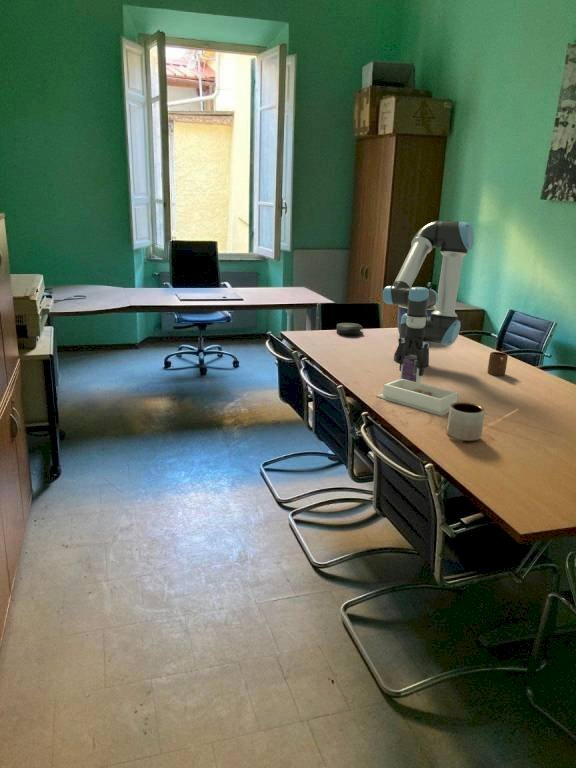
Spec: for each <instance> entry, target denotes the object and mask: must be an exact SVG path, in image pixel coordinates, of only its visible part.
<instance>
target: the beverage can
mask: <svg viewBox="0 0 576 768" xmlns="http://www.w3.org/2000/svg"><path fill="white" fill-rule="evenodd" d="M417 368H419V365H418V360H417V355H406V356H405V358H404V359H403V367H402V378H401V379H406V380H409V381H413V382H416V374H417Z"/></svg>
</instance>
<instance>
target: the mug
mask: <svg viewBox="0 0 576 768" xmlns="http://www.w3.org/2000/svg"><path fill="white" fill-rule="evenodd" d="M508 357H509V355H508V354H507V353H506V352H500V351H492V352H490V353H489V357H488V358H489V359H488V365H487V366H488V367H487V373H488V375H491V376H496V377H502V376H505V375H506V372H507V370H506V369H507V364H508Z"/></svg>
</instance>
